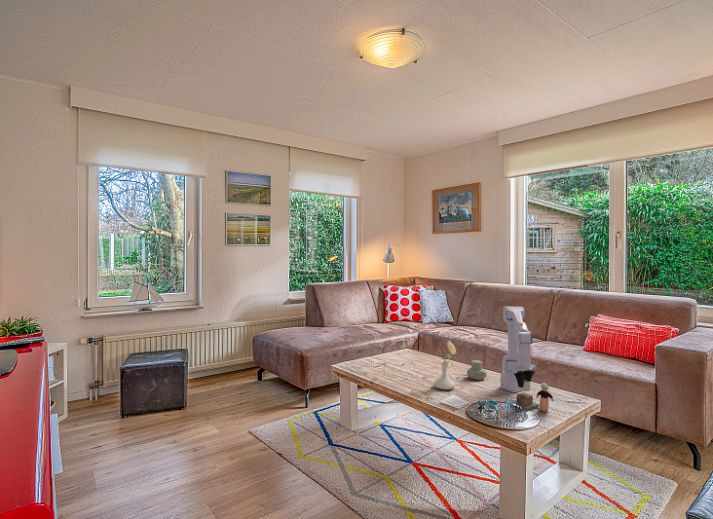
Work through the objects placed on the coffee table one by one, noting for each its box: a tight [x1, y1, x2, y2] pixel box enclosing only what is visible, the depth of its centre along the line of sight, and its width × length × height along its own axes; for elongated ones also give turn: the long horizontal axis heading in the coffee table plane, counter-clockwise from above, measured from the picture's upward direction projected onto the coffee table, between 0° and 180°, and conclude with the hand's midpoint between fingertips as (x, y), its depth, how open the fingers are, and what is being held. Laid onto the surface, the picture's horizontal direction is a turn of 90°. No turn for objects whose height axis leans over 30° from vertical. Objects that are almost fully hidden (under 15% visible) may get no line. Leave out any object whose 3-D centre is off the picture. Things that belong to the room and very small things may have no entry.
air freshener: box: [466, 359, 487, 381], centre depth 231 cm, size 11×8×10 cm
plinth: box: [510, 399, 540, 412], centre depth 189 cm, size 9×9×2 cm
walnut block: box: [515, 391, 534, 406], centre depth 189 cm, size 5×5×4 cm
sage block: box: [517, 380, 531, 393], centre depth 189 cm, size 4×4×4 cm
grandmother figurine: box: [535, 382, 555, 413], centre depth 183 cm, size 8×4×13 cm, turn 56°
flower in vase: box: [433, 340, 457, 390], centre depth 215 cm, size 13×11×25 cm
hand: (523, 386), depth 189 cm, fingers closed on sage block, 4 cm apart
